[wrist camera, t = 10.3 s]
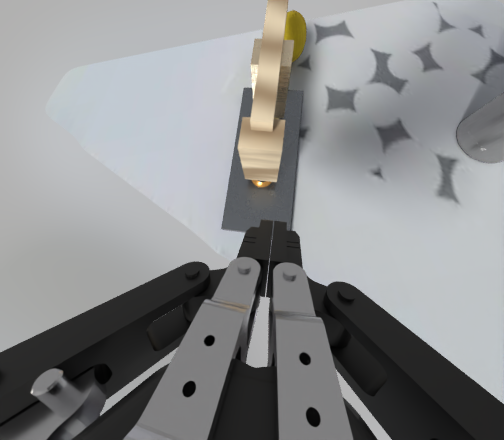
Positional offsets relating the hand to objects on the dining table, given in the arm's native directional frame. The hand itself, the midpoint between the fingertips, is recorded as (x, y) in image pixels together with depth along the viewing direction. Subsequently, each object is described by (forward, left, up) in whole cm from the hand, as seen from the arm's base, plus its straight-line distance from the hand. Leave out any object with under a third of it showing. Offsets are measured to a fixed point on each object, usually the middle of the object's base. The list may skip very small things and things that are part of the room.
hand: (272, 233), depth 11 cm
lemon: (-18, -32, -20) cm, 42 cm away
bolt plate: (-6, -15, -20) cm, 26 cm away
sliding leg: (-8, -19, -18) cm, 27 cm away
